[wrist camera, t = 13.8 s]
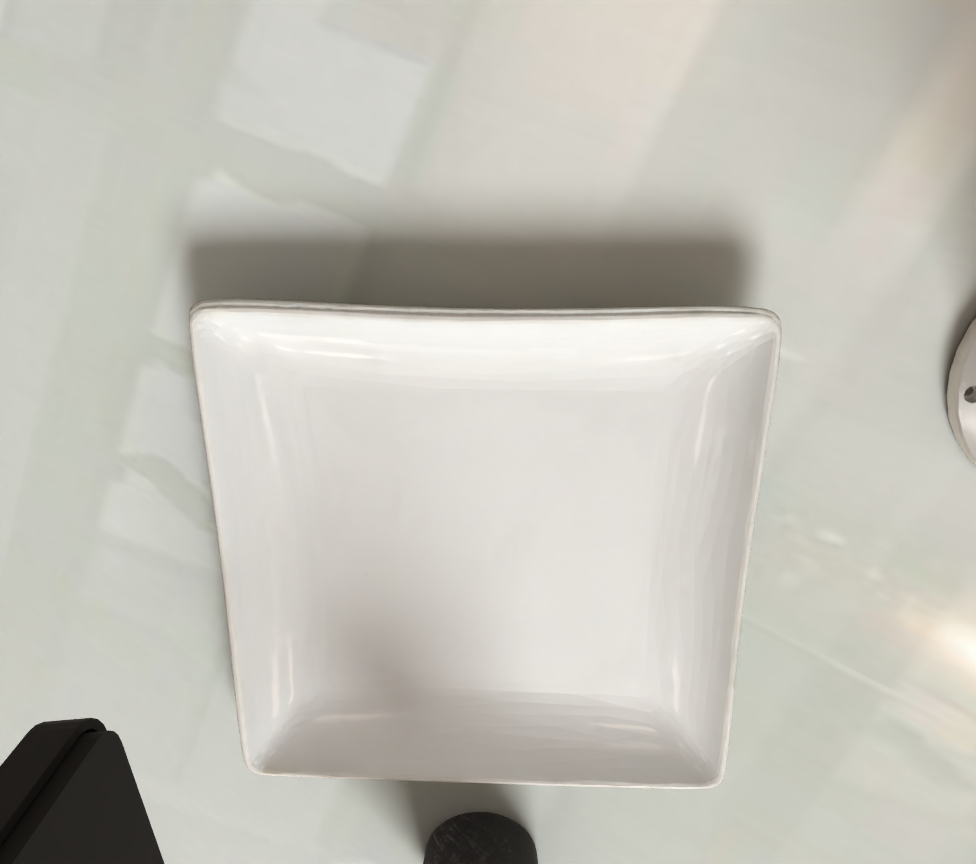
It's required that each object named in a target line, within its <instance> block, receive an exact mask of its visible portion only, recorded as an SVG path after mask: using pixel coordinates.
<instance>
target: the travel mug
mask: <svg viewBox="0 0 976 864" xmlns="http://www.w3.org/2000/svg"><path fill="white" fill-rule="evenodd" d="M423 864H538V860H537V852H536V848H535V845H534V843H533V841H532V839H531V837H530V836H529V834H528V833H527V832H526V831H525V830H524V829H523V828H522V827H521V826H520V825H518V824H517V823H515V822H514V821H512V820H510V819H508V818H505V817H503V816H500V815H496V814H491V813H480V812H478V813H468V814H463V815H459V816H456V817H454V818H451V819H449V820H447V821H446V822H444V823H443V824H441V825H440V826H439V827H438V828H437V829H436V830H435V831H434V833H433V834H432V836H431V837H430V839H429V841H428V844H427V847H426V852H425V857H424V863H423Z"/></svg>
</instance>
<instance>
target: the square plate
mask: <svg viewBox="0 0 976 864" xmlns="http://www.w3.org/2000/svg"><path fill="white" fill-rule="evenodd" d="M189 324H190V339H191V348H192V357H193V365H194V372H195V379H196V386H197V396H198V401H199V407H200V416H201V422H202V429H203V435H204V442H205V449H206V456H207V463H208V470H209V477H210V483H211V492H212V498H213V504H214V512H215V520H216V528H217V536H218V545H219V552H220V560H221V568H222V575H223V584H224V594H225V603H226V612H227V621H228V631H229V640H230V649H231V659H232V669H233V679H234V690H235V698H236V708H237V717H238V725H239V733H240V739H241V748H242V753H243V758H244V762H245V764H246V766H247V768H248V769H249V770H250V771H252V772H254V773H257V774H262V775H274V776H300V777H323V778H349V779H375V780H403V781H435V782H465V783H496V784H525V785H554V786H590V787H626V788H669V789H701V788H711V787H715V786H717V785H719V784H720V782H721V781H722V779H723V777H724V773H725V767H726V761H727V754H728V747H729V739H730V730H731V721H732V711H733V701H734V691H735V680H736V670H737V659H738V650H739V642H740V634H741V623H742V614H743V605H744V597H745V589H746V580H747V572H748V565H749V558H750V551H751V544H752V536H753V529H754V523H755V516H756V510H757V503H758V496H759V490H760V483H761V477H762V471H763V464H764V458H765V452H766V445H767V439H768V432H769V426H770V419H771V412H772V406H773V399H774V393H775V386H776V379H777V372H778V365H779V356H780V345H781V321H780V319H779V318H778V316H777V315H776V314H775V313H774V312H772V311H769V310H767V309H761V308H753V307H739V306H675V307H622V308H553V309H490V308H441V307H408V306H384V305H362V304H344V303H326V302H308V301H287V300H264V299H208V300H202V301H199V302H197V303H195V304H194V305H193V306H192V307H191V309H190V317H189Z"/></svg>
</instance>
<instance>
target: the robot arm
mask: <svg viewBox="0 0 976 864" xmlns="http://www.w3.org/2000/svg"><path fill="white" fill-rule="evenodd" d="M967 389H968V390H967ZM966 390H967V391H966ZM965 391H966V392H965ZM947 404H948V415H949V421H950V424H951V427H952V430H953V433H954V436H955V439H956V441H957V442H958V444H959V446H960V447H961V449H962V451H963V452H964V454H965V455H966V457H967V458H968V459H969V460H970V461H971V462H972V463H973V464H974V465H975V466H976V318H975V319H974V321H973V322H972V323H971V324H970V326H969V328H968V330H967V332H966V333H965V335H964V337H963V339H962V341H961V343H960V345H959V347H958V348H957V351H956V354H955V357H954V361H953V364H952V367H951V370H950V373H949V382H948V390H947ZM0 864H164V861H163V859H162V856H161V853H160V850H159V847H158V844H157V841H156V839H155V836H154V833H153V830H152V827H151V824H150V821H149V819H148V816H147V813H146V810H145V807H144V804H143V802H142V799H141V796H140V793H139V790H138V787H137V784H136V782H135V779H134V776H133V773H132V770H131V767H130V765H129V762H128V759H127V756H126V753H125V750H124V747H123V745H122V742H121V740H120V738H119V736H118V734H116V733H115V732H114V731H107V730H106V728H105V726H104V724H103V723H102V722H100V721H99V720H98V719H94V718H85V719H73V720H61V721H50V722H43V723H40V724H37V725H35V726H34V727H33V728H32V729H31V730H30V731H29V732H28V733H27V734H26V736H25V737H24V738H23V739H22V740H21V742H20V743H19V744H18V745H17V747H16V748H15V749H14V750H13V751H12V753H11V754H10V755H9V756H8V758H7V759H6V760H5V761H4V763H3V764H2V765H1V766H0Z"/></svg>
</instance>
